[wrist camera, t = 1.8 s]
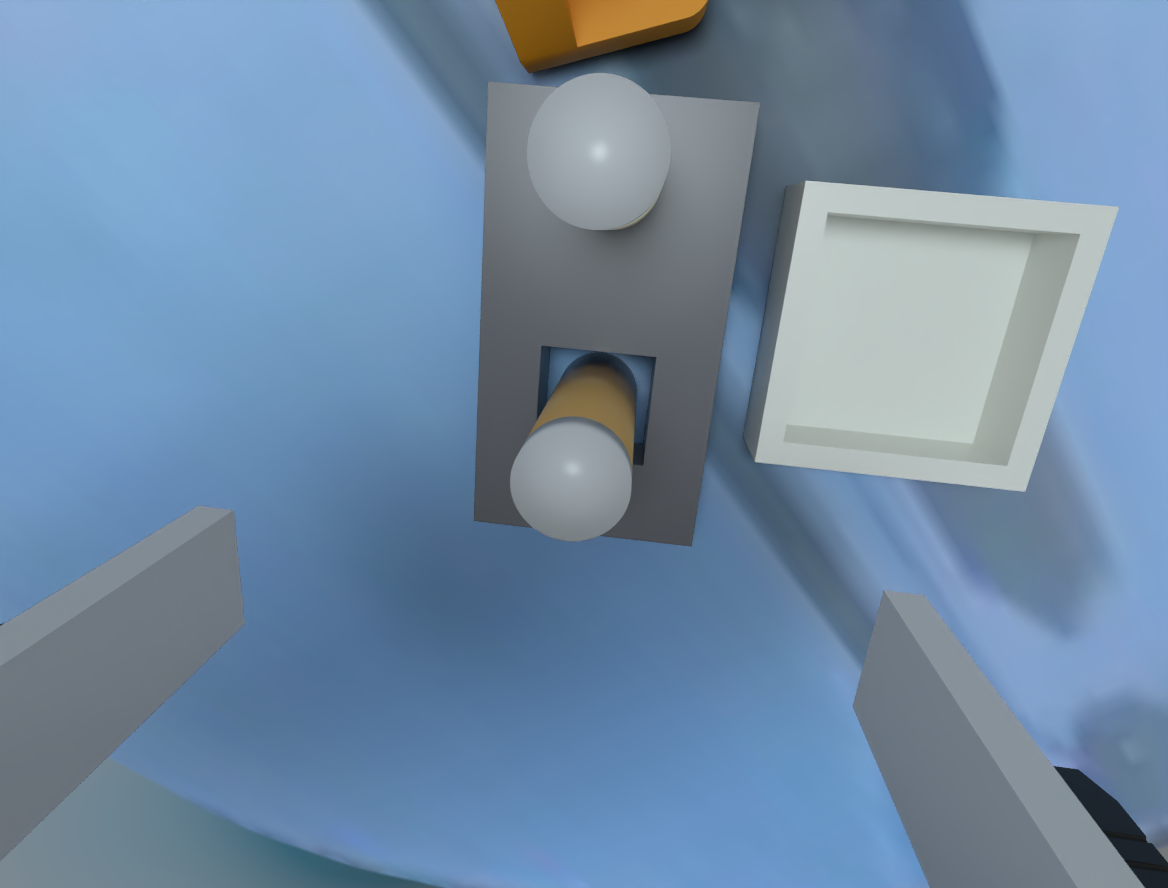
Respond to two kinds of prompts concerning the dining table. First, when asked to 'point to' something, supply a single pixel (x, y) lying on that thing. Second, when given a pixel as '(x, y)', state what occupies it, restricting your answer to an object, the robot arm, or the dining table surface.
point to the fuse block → (609, 272)
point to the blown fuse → (579, 452)
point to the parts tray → (919, 331)
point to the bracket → (591, 26)
